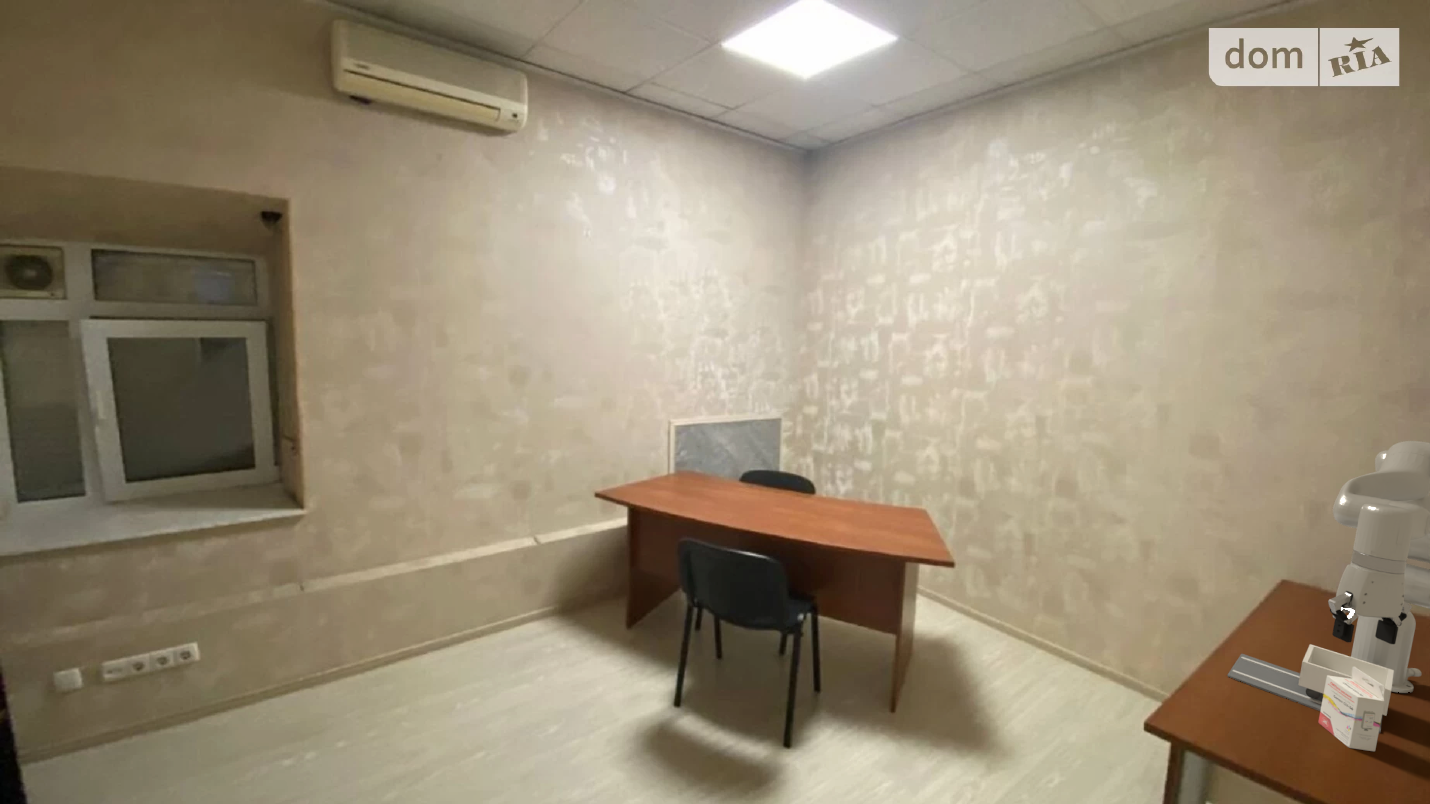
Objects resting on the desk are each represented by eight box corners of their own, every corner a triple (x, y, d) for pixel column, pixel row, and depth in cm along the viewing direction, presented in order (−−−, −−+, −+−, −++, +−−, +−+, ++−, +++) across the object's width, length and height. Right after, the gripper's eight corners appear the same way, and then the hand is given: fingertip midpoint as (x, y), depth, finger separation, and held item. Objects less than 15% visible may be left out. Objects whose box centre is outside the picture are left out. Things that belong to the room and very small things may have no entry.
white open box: (1304, 675, 149) (1310, 644, 148) (1387, 703, 139) (1393, 670, 138) (1296, 694, 140) (1302, 661, 140) (1384, 725, 130) (1391, 690, 129)
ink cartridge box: (1316, 722, 132) (1327, 661, 130) (1342, 726, 131) (1353, 665, 129) (1348, 748, 123) (1360, 683, 122) (1376, 753, 122) (1389, 687, 121)
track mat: (1241, 655, 160) (1241, 652, 160) (1384, 704, 140) (1384, 701, 140) (1226, 676, 149) (1227, 673, 149) (1380, 733, 129) (1380, 730, 129)
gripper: (1395, 558, 127) (1380, 633, 128) (1319, 554, 126) (1306, 629, 128) (1439, 571, 119) (1423, 651, 121) (1359, 568, 118) (1344, 647, 120)
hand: (1363, 640), depth 124 cm, fingers open, 9 cm apart
